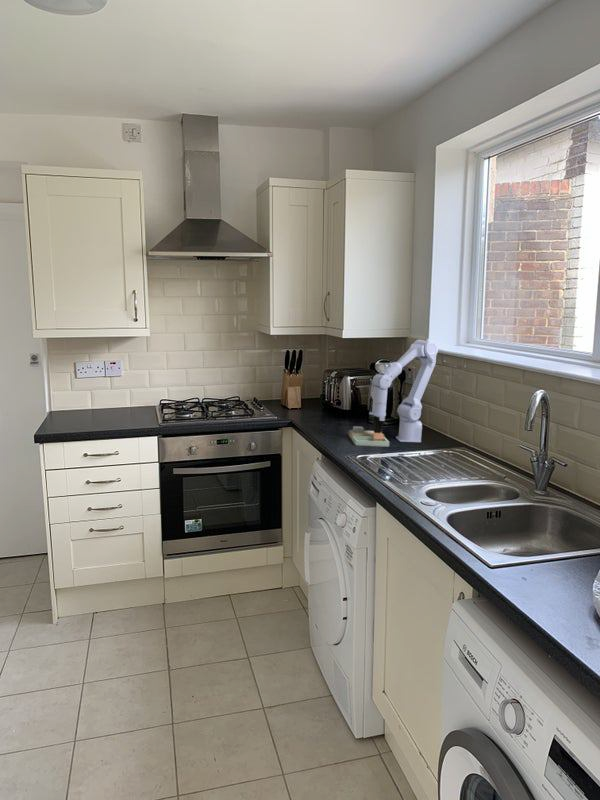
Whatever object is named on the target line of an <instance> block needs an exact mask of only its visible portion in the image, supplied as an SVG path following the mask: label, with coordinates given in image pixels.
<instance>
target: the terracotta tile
mask: <svg viewBox="0 0 600 800" xmlns="http://www.w3.org/2000/svg"><path fill="white" fill-rule="evenodd" d="M383 434H384V433H383ZM383 434H382V433H373V435H372V438H373V441H383V440H384V438H383Z"/></svg>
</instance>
